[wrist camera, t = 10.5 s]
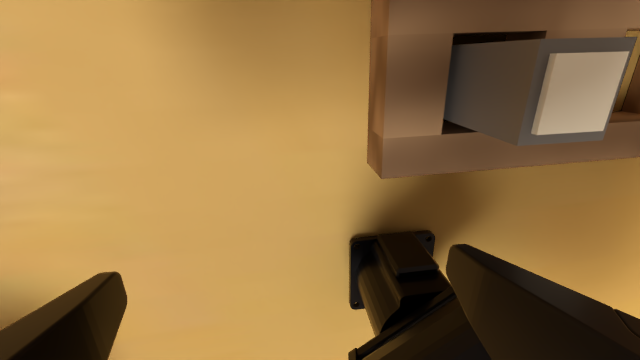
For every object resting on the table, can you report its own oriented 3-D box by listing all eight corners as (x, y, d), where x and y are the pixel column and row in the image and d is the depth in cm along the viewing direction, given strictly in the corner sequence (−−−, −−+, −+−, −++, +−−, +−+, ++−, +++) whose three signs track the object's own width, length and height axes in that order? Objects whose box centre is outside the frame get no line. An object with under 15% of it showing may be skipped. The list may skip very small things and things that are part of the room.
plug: (484, 110, 20) (609, 142, 13) (427, 113, 20) (522, 147, 12) (495, 44, 19) (646, 36, 11) (434, 46, 18) (548, 38, 11)
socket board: (649, 140, 23) (712, 154, 20) (367, 162, 21) (384, 182, 17) (739, -94, 18) (846, -128, 14) (374, -102, 15) (401, -147, 12)
